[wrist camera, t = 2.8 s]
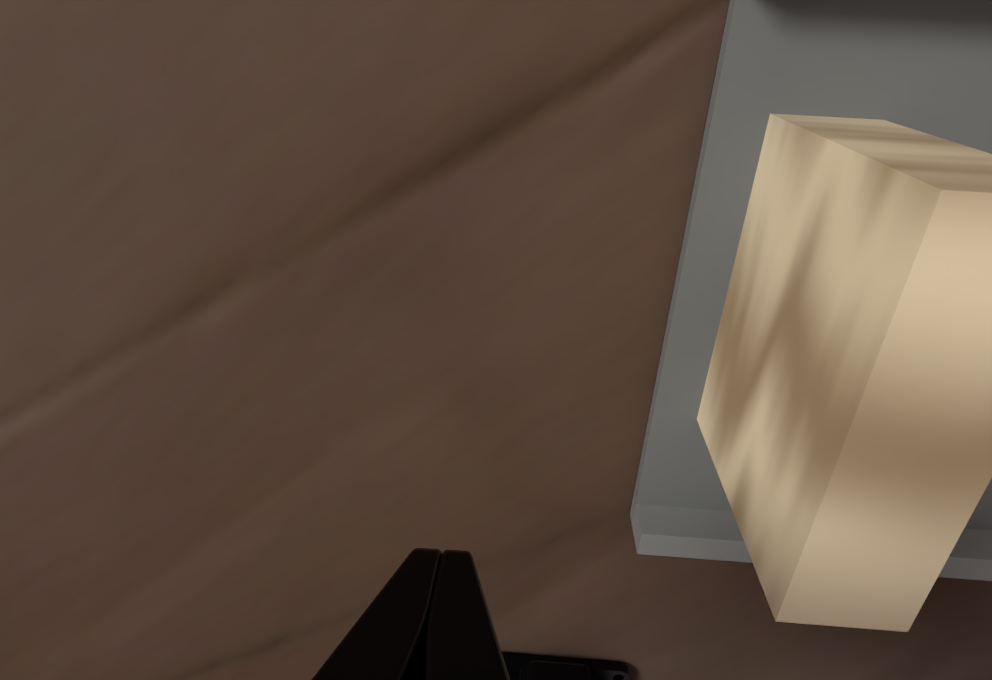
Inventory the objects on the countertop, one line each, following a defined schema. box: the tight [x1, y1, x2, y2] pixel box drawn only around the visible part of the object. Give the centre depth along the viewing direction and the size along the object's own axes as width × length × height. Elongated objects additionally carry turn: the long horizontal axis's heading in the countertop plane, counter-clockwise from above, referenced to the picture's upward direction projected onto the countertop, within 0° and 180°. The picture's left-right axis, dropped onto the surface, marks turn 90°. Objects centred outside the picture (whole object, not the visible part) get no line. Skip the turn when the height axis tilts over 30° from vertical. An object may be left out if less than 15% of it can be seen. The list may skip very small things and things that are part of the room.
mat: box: [630, 0, 992, 581], centre depth 19 cm, size 19×18×2 cm
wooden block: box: [697, 114, 992, 632], centre depth 15 cm, size 10×3×8 cm, turn 177°
